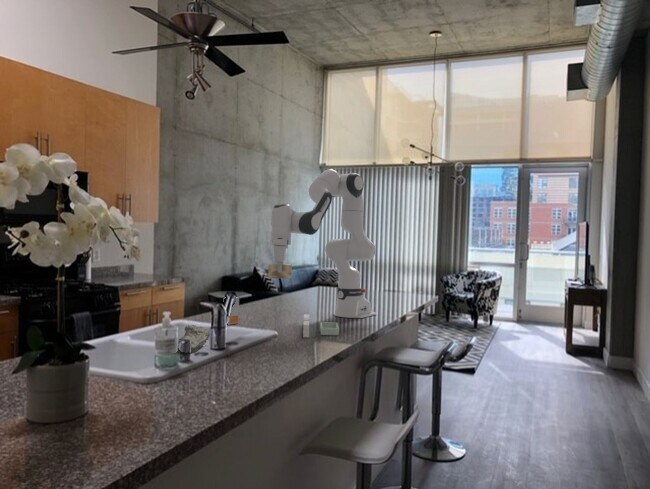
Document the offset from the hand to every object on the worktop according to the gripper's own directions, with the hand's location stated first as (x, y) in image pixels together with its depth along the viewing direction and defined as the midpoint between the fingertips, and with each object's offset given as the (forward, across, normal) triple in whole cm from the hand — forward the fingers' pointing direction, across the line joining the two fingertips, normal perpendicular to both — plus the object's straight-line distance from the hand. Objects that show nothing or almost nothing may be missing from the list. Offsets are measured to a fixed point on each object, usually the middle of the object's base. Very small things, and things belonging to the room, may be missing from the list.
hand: (280, 271), depth 229 cm
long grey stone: (+25, +32, -30) cm, 51 cm away
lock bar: (+3, 0, 0) cm, 3 cm away
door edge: (+25, +7, +12) cm, 28 cm away
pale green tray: (+25, +8, +22) cm, 34 cm away
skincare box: (+25, -6, -22) cm, 34 cm away
